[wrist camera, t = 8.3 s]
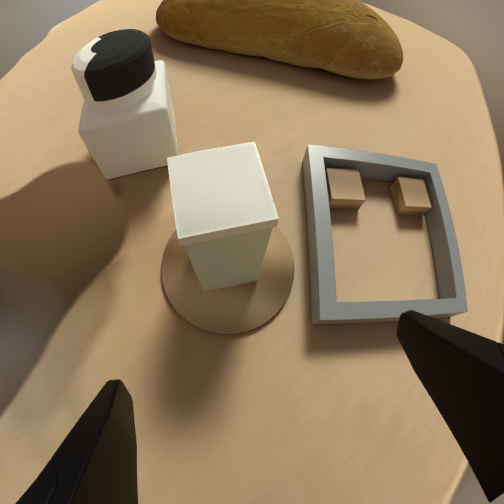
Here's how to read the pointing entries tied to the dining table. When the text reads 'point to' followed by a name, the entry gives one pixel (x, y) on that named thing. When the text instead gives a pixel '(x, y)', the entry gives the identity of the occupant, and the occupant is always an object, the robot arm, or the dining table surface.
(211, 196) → the tall square-topped block
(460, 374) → the robot arm
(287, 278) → the coaster
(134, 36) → the medicine bottle
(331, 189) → the block
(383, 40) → the bread
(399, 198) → the parts block
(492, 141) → the dining table surface
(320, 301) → the grey square frame
